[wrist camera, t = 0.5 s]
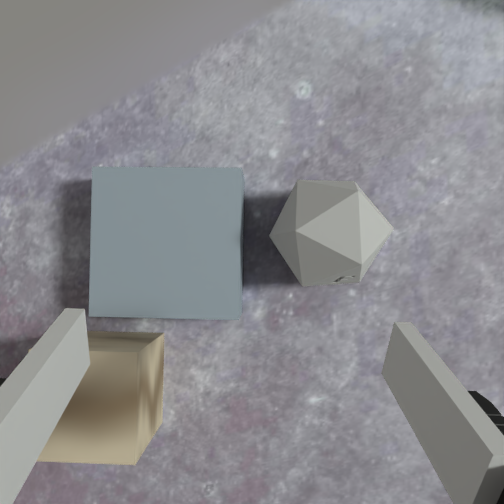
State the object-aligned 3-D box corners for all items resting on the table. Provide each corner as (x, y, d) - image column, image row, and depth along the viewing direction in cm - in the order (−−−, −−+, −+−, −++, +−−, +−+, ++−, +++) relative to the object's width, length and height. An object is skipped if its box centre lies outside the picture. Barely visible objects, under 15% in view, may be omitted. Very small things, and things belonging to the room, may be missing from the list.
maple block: (162, 421, 33) (135, 465, 26) (75, 418, 34) (25, 460, 27) (164, 332, 34) (137, 352, 27) (77, 330, 34) (28, 349, 27)
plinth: (242, 312, 33) (238, 320, 29) (109, 309, 34) (88, 316, 30) (244, 178, 33) (241, 167, 29) (112, 177, 34) (92, 166, 30)
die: (254, 251, 34) (295, 319, 26) (268, 158, 30) (322, 205, 22) (333, 248, 37) (391, 309, 29) (356, 162, 32) (432, 206, 24)
